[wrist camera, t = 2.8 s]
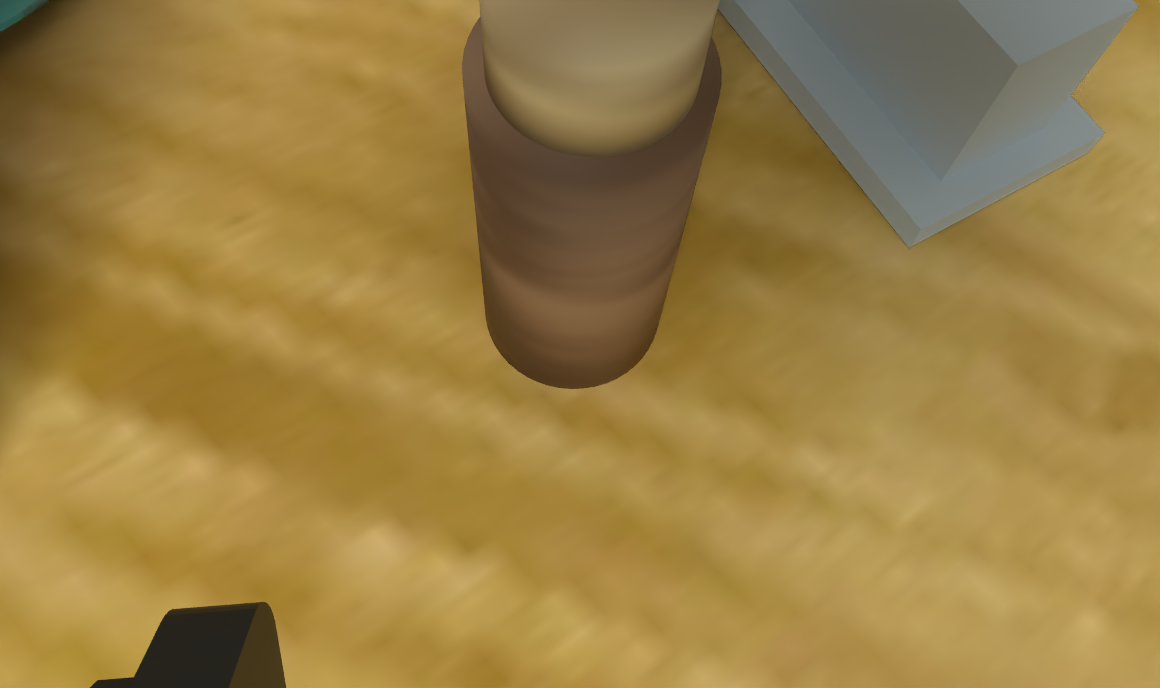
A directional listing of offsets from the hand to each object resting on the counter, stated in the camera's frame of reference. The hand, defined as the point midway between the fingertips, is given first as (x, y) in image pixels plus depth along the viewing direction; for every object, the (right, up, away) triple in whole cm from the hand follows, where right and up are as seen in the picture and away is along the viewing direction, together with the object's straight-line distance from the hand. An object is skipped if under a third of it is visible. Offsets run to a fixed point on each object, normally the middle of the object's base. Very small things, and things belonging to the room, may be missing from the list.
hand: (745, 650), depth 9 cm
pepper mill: (-2, +4, +19) cm, 19 cm away
